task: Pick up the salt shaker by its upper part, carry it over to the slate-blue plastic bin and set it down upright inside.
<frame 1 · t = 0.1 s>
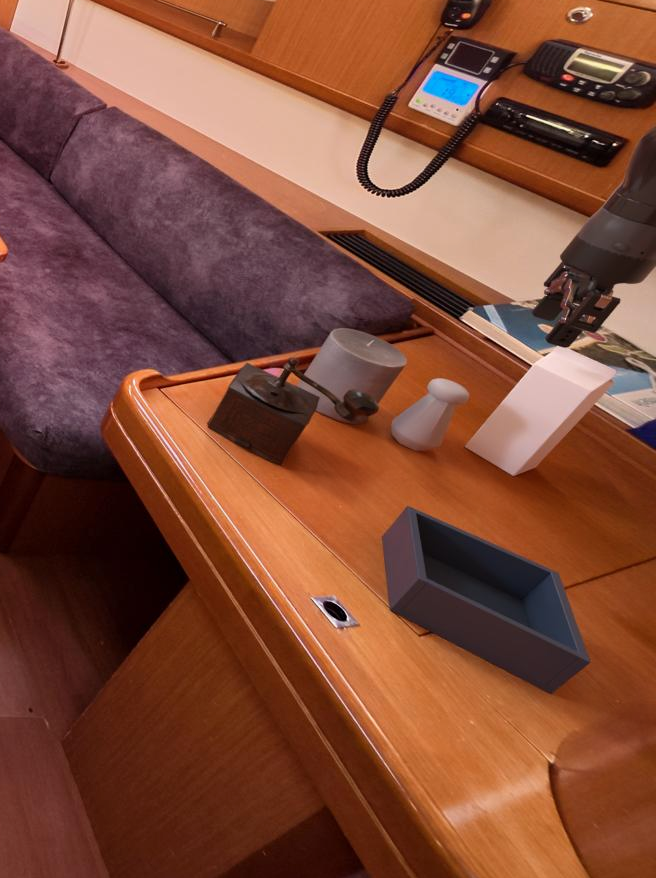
hand: (548, 330, 96), 23 cm above the table, tool pointing down, fingers open, 8 cm apart
salt shaker: (408, 442, 105), on the table
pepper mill: (267, 442, 105), on the table
pillar candle: (329, 404, 113), on the table
bin: (457, 607, 81), on the table
milk: (498, 457, 103), on the table
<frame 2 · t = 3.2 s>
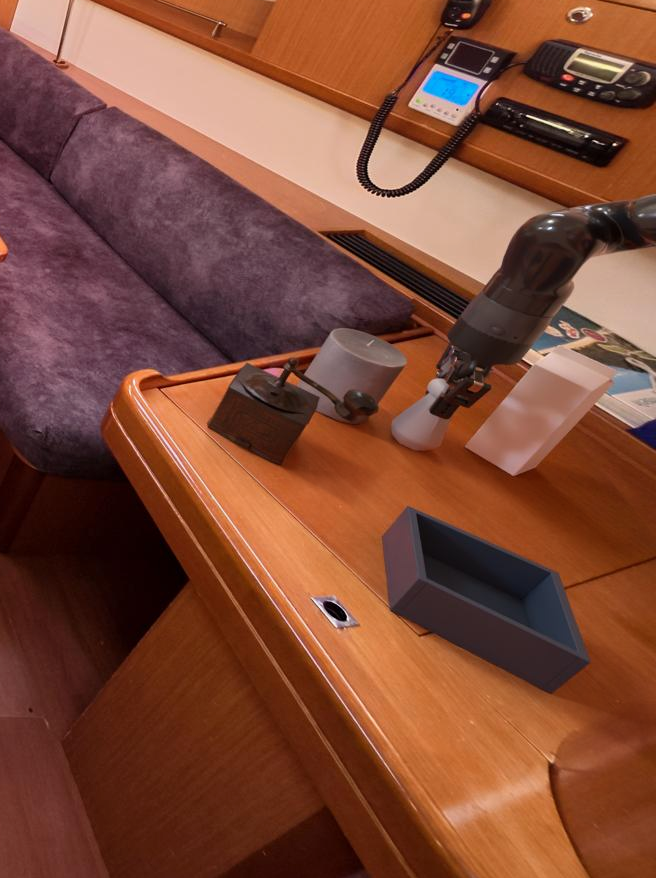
hand: (435, 406, 101), 8 cm above the table, tool pointing down, fingers closed on salt shaker, 4 cm apart
salt shaker: (408, 442, 105), on the table, touching gripper
everything else where it was.
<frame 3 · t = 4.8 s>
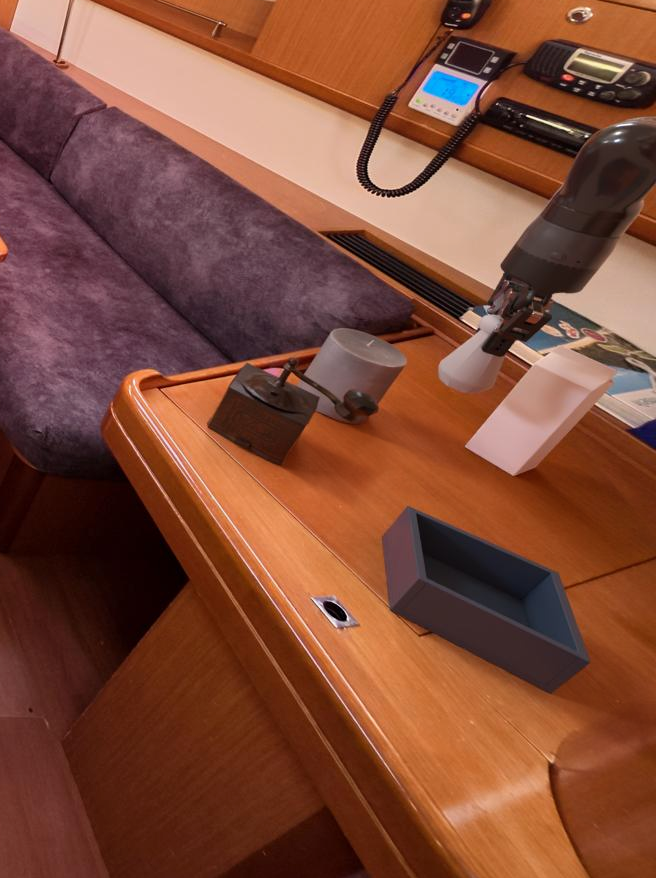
hand: (488, 344, 95), 22 cm above the table, tool pointing down, fingers closed on salt shaker, 4 cm apart
salt shaker: (457, 385, 99), point 14 cm above the table, touching gripper
everything else where it was.
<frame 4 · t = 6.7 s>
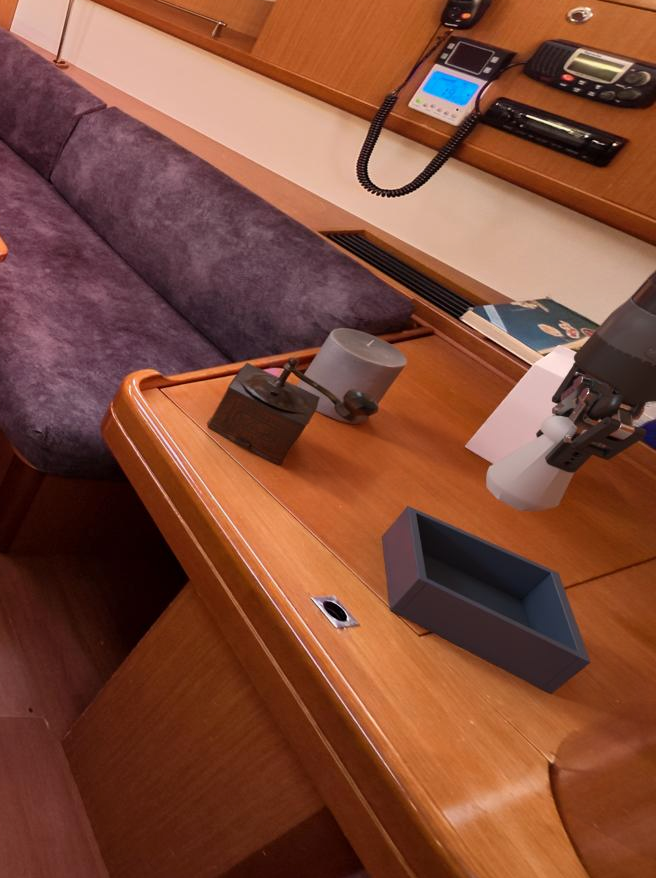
hand: (553, 453, 75), 23 cm above the table, tool pointing down, fingers closed on salt shaker, 4 cm apart
salt shaker: (509, 498, 79), point 15 cm above the table, touching gripper
everything else where it was.
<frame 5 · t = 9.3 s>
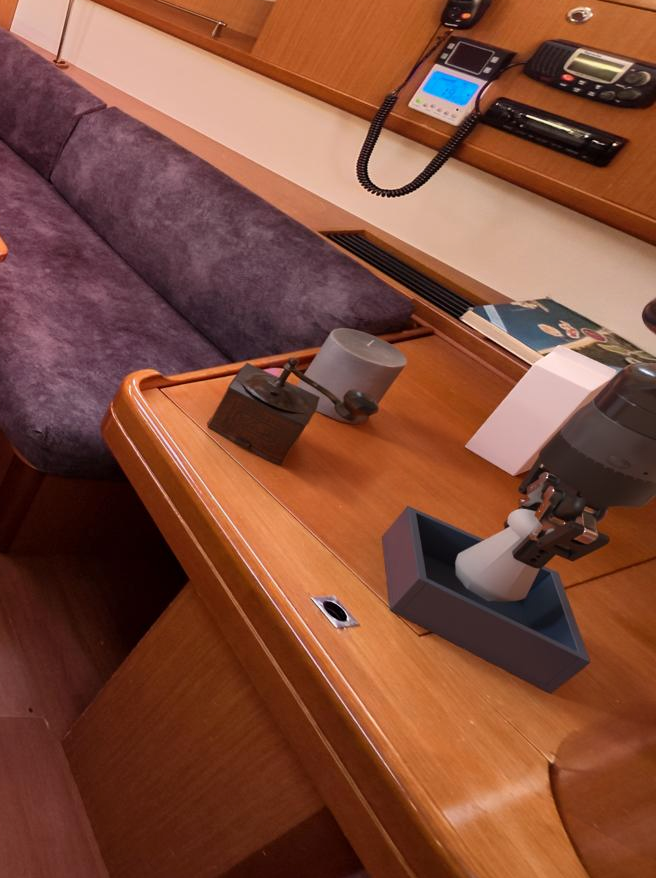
hand: (520, 546, 75), 13 cm above the table, tool pointing down, fingers closed on salt shaker, 4 cm apart
salt shaker: (478, 587, 79), point 5 cm above the table, touching gripper
everything else where it was.
when the fingers open (9 cm above the table, at t = 10.7 s): salt shaker stays where it is, resting on bin.
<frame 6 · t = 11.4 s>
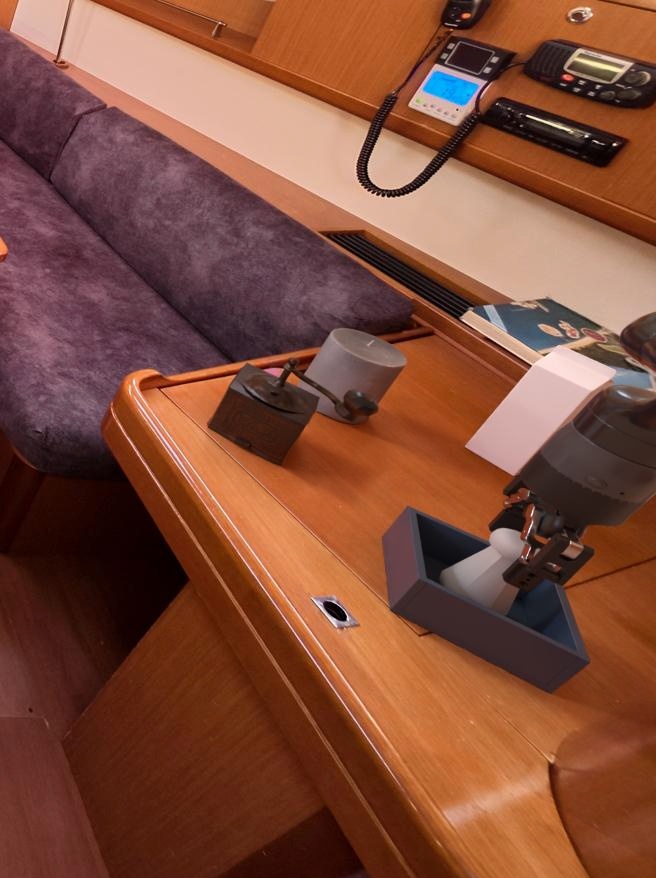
hand: (506, 558, 77), 11 cm above the table, tool pointing down, fingers open, 8 cm apart
salt shaker: (461, 603, 81), point 1 cm above the table, touching bin
everything else where it was.
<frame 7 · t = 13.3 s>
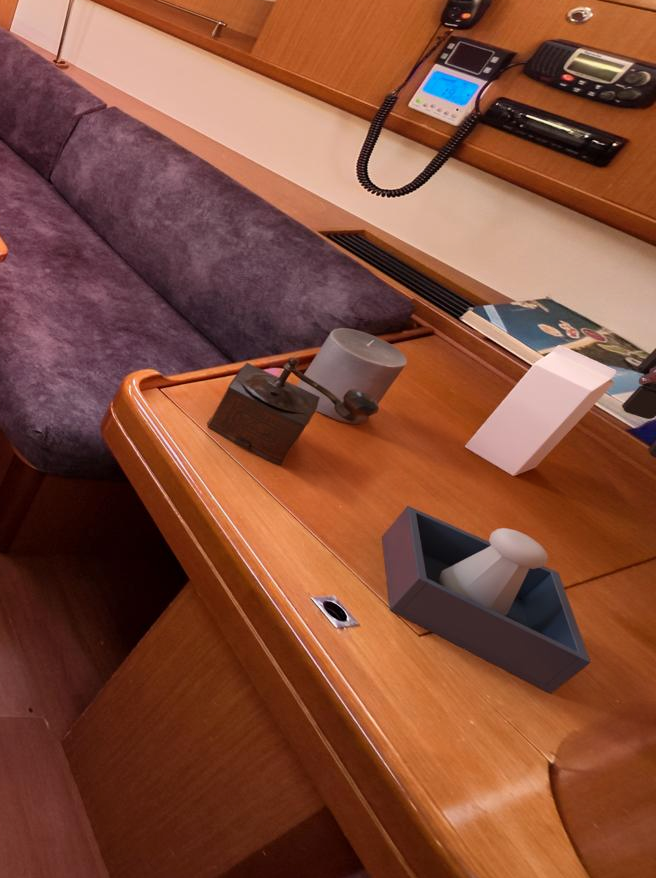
hand: (648, 435, 72), 28 cm above the table, tool pointing down, fingers open, 8 cm apart
nothing on the table moved.
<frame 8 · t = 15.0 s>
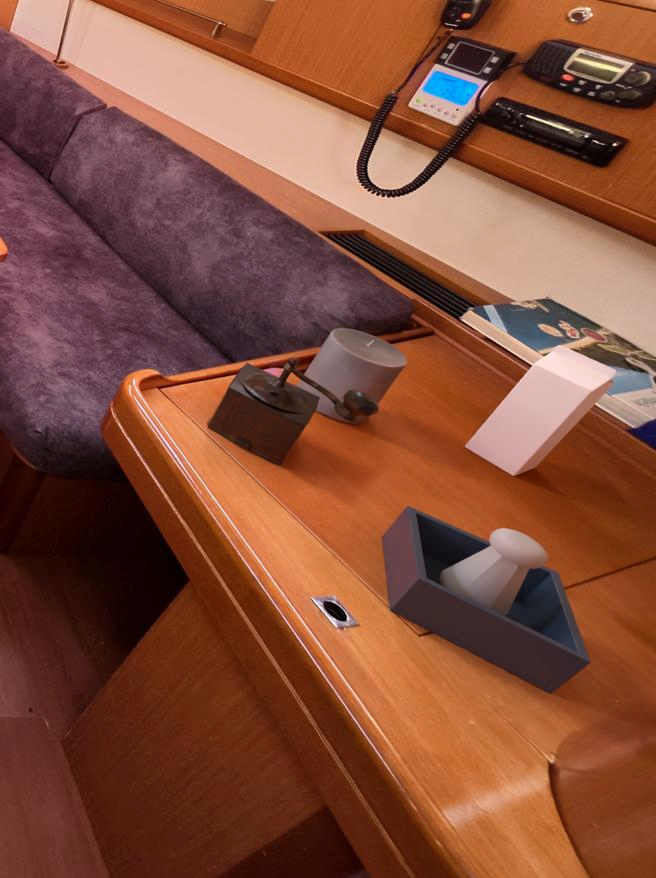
nothing on the table moved.
at the end: salt shaker inside the target area in the bin (0.0 cm from its centre), point 0.8 cm above the bin's base; salt shaker tilted 0° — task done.
